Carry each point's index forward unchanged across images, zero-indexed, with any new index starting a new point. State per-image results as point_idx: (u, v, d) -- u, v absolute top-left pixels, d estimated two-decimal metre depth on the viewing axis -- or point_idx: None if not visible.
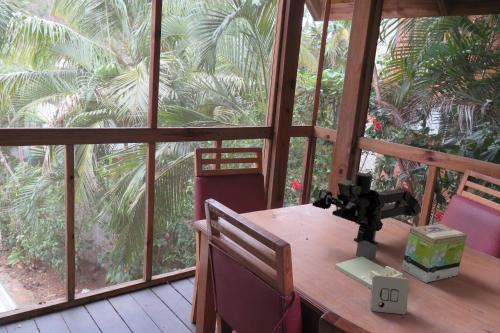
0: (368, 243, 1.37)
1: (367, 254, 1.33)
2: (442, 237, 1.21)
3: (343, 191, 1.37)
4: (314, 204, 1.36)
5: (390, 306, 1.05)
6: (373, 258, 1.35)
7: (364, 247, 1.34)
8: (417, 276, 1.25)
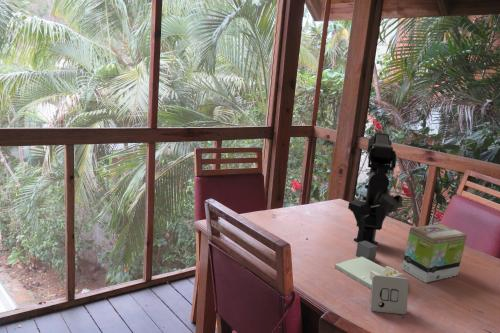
0: (368, 243, 1.37)
1: (367, 254, 1.33)
2: (442, 237, 1.21)
3: None
4: None
5: (390, 306, 1.05)
6: (373, 258, 1.35)
7: (364, 247, 1.34)
8: (417, 276, 1.25)
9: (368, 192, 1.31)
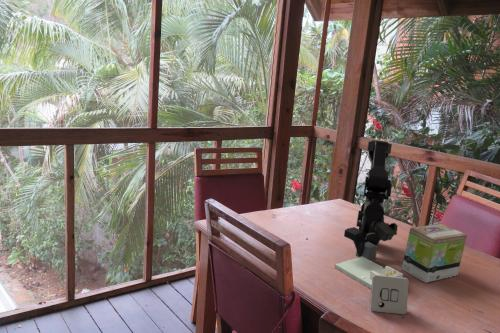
0: (368, 243, 1.37)
1: (367, 254, 1.33)
2: (442, 237, 1.21)
3: None
4: None
5: (390, 306, 1.05)
6: (373, 258, 1.35)
7: (364, 247, 1.34)
8: (417, 276, 1.25)
9: (364, 220, 1.33)
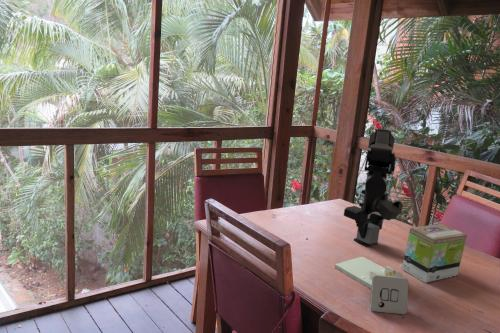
0: (369, 224, 1.25)
1: (369, 235, 1.21)
2: (442, 237, 1.21)
3: None
4: None
5: (390, 306, 1.05)
6: (375, 240, 1.23)
7: None
8: (417, 276, 1.25)
9: (365, 198, 1.21)
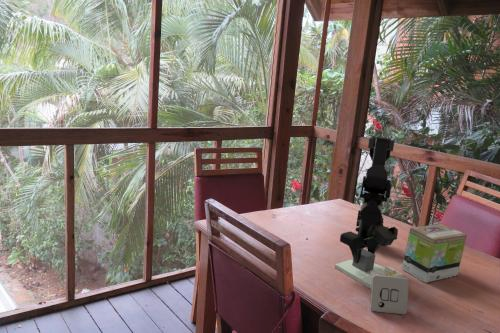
0: (365, 251, 1.27)
1: (364, 264, 1.23)
2: (442, 237, 1.21)
3: None
4: None
5: (390, 306, 1.05)
6: (371, 267, 1.25)
7: (361, 256, 1.24)
8: (417, 276, 1.25)
9: (361, 223, 1.22)
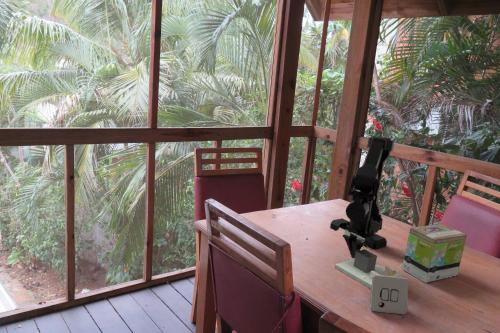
0: (367, 252, 1.26)
1: (366, 264, 1.23)
2: (442, 237, 1.21)
3: None
4: None
5: (390, 306, 1.05)
6: (372, 268, 1.25)
7: (363, 257, 1.24)
8: (417, 276, 1.25)
9: (364, 224, 1.24)
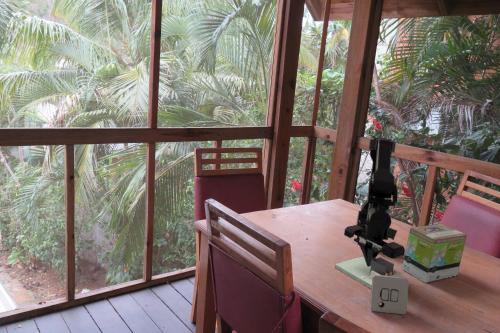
0: (383, 260, 1.21)
1: (383, 273, 1.18)
2: (442, 237, 1.21)
3: None
4: None
5: (390, 306, 1.05)
6: None
7: (379, 265, 1.19)
8: (417, 276, 1.25)
9: (381, 231, 1.19)
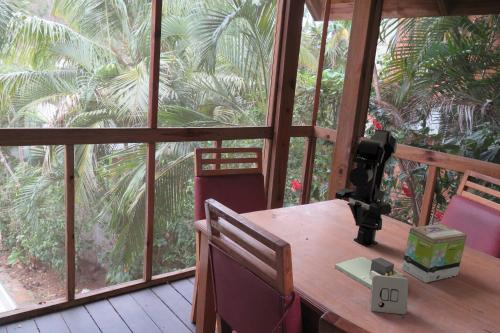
0: (383, 260, 1.21)
1: (383, 273, 1.18)
2: (442, 237, 1.21)
3: None
4: None
5: (390, 306, 1.05)
6: None
7: (379, 265, 1.19)
8: (417, 276, 1.25)
9: (369, 191, 1.27)
